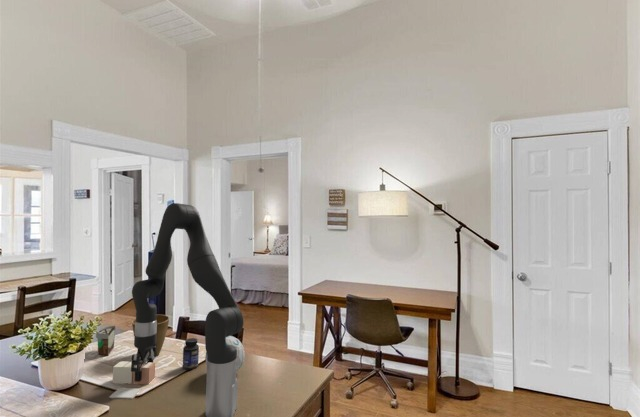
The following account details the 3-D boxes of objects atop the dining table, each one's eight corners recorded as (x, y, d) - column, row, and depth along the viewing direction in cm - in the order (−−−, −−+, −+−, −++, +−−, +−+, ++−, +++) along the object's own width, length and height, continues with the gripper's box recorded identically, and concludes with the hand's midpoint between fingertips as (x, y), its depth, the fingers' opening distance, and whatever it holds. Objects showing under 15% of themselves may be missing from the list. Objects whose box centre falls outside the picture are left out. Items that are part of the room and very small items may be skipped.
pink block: (154, 378, 132) (155, 362, 132) (148, 384, 127) (149, 367, 127) (139, 378, 132) (139, 362, 132) (132, 383, 127) (133, 367, 127)
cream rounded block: (138, 377, 132) (138, 361, 132) (131, 383, 127) (132, 367, 127) (120, 377, 132) (120, 361, 132) (112, 383, 127) (113, 366, 127)
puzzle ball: (196, 377, 134) (197, 338, 134) (225, 363, 147) (226, 327, 147) (224, 387, 126) (225, 346, 126) (252, 372, 139) (253, 334, 139)
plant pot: (132, 351, 157) (134, 316, 157) (168, 347, 162) (169, 313, 163) (128, 364, 143) (130, 326, 143) (167, 359, 149) (168, 322, 149)
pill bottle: (192, 370, 139) (193, 343, 139) (179, 369, 140) (180, 341, 140) (201, 364, 145) (202, 338, 145) (188, 362, 146) (188, 336, 146)
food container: (99, 347, 160) (100, 326, 160) (114, 346, 162) (115, 325, 162) (90, 358, 148) (91, 335, 148) (107, 357, 150) (108, 334, 150)
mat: (141, 389, 123) (141, 388, 123) (132, 398, 117) (132, 397, 117) (119, 389, 123) (119, 388, 123) (109, 398, 117) (109, 396, 117)
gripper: (145, 339, 123) (144, 385, 123) (164, 326, 137) (162, 367, 137) (125, 338, 123) (123, 384, 123) (145, 326, 137) (144, 367, 137)
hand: (144, 375), depth 130 cm, fingers open, 8 cm apart
